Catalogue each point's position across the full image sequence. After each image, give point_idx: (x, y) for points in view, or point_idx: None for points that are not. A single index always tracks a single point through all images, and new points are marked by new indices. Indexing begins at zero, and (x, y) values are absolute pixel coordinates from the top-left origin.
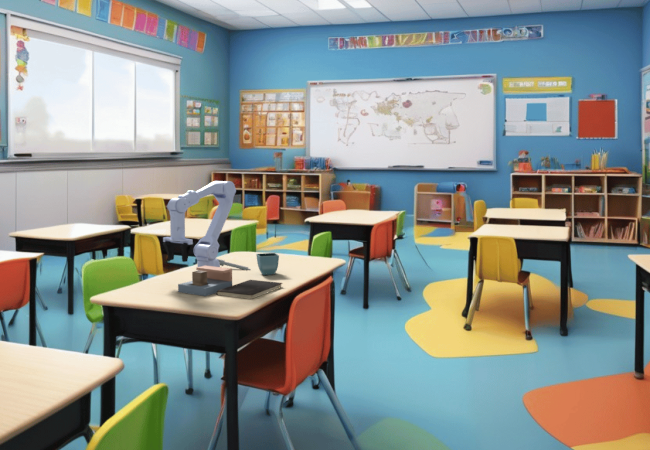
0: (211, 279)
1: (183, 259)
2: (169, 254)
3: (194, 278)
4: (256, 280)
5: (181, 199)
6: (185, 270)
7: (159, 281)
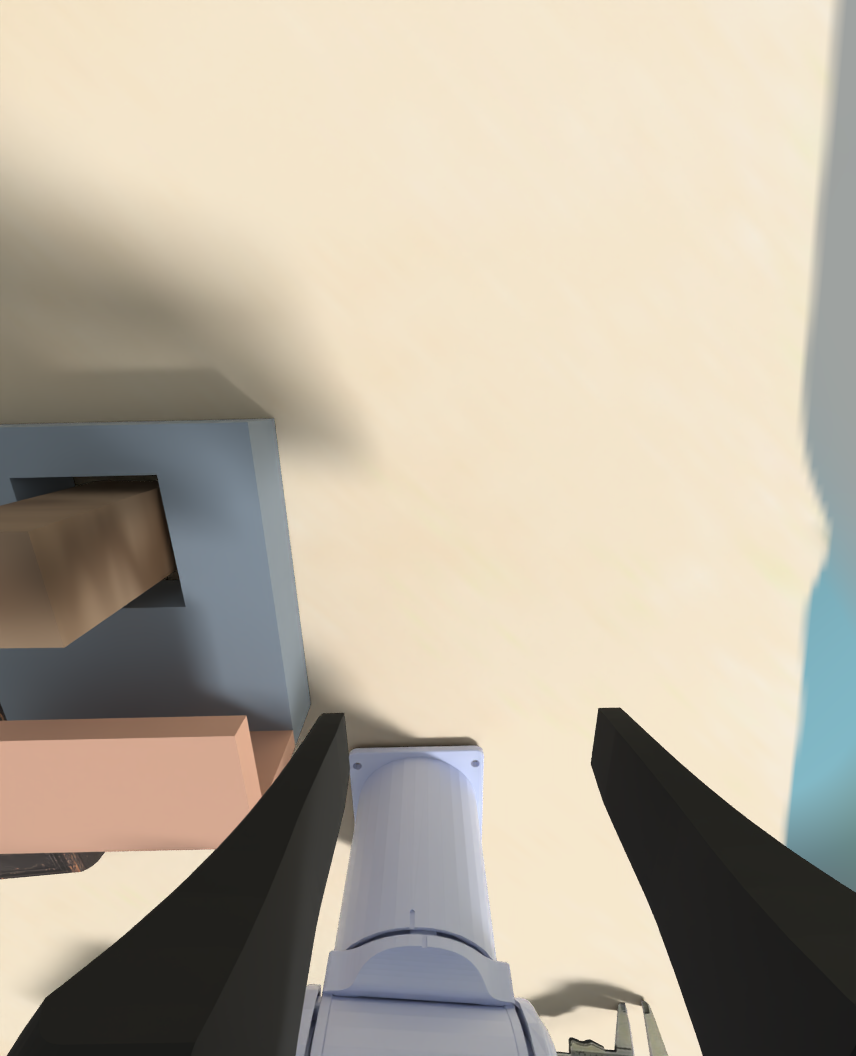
0: (189, 713)
1: (306, 737)
2: (645, 781)
3: (59, 510)
4: (27, 872)
5: None
6: None
7: (692, 611)
